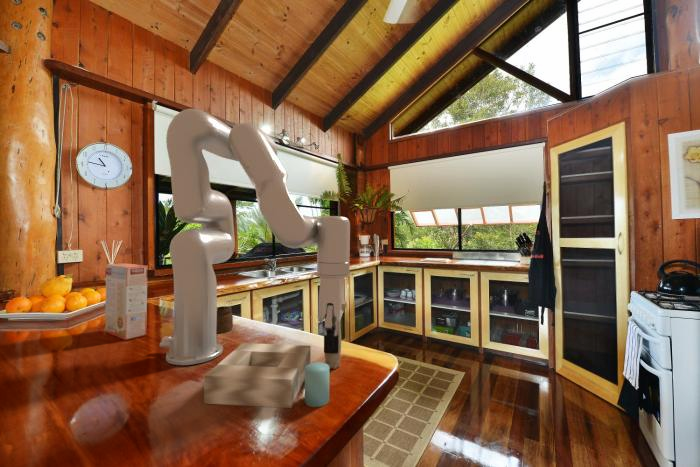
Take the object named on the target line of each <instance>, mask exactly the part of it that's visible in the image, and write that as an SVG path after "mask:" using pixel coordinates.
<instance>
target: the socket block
mask: <svg viewBox="0 0 700 467" xmlns="http://www.w3.org/2000/svg"><path fill="white" fill-rule="evenodd" d="M308 364H311V345H303V344H302V345H301V344H298V345H297V344H279V343H278V344H276V343H275V344H272V343H252V342H251V343H249V342H242V343H241V344H239V346H238V347H236V348H235V349H234V350H233V351H232V352H230V353H229V354H228V355H227V356H225V357H224V358H223V359H222V360H221V361H220V362H219V363H217V364H216V365H215V366H214V367H213V368H211V369H210V370H209V371H207V372H206V374H204V377H203V383H204V384H203V387H204V388H203V403H204V404H206V405H207V404H209V405H210V404H211V405H229V406H230V405H231V406H247V407H263V408H264V407H265V408H282V409H283V408H284V409H292V408H293V406H294V403H295V401H296V399H297V397H298V395H299V392H300V390H301V389H302V386H303V383H305V367H306V366H307V365H308Z"/></svg>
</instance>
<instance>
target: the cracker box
mask: <svg viewBox="0 0 700 467" xmlns="http://www.w3.org/2000/svg"><path fill="white" fill-rule="evenodd" d="M147 306H148V265H145V264H143V265H141V264H135V263H127V262H126V263H125V262H122V263H119V262H118V263H109V264H105V306H104V307H105V312H104V332H105V333H107V334H109V335H112V336H114V337H117V338H119V339H121V340H124V341H127V340H132V339H136V338H140V337H144V336H147V317H148V316H147V310H148V309H147V308H148V307H147Z"/></svg>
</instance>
